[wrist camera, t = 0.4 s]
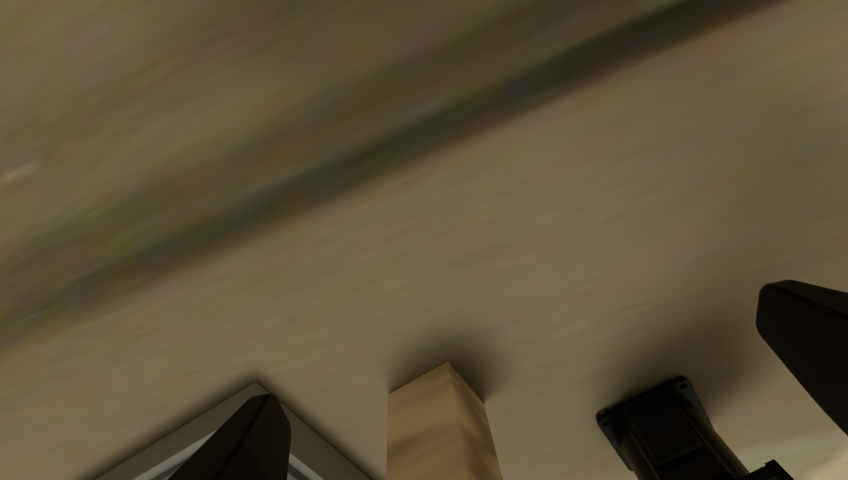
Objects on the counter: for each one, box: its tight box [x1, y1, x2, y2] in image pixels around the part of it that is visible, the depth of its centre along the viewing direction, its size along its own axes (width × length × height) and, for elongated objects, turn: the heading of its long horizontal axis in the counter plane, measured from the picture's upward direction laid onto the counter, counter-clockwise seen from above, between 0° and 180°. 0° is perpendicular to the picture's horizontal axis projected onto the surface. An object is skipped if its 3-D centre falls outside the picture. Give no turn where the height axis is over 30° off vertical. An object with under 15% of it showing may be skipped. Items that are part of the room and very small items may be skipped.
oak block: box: [387, 361, 503, 480], centre depth 23 cm, size 4×4×8 cm
